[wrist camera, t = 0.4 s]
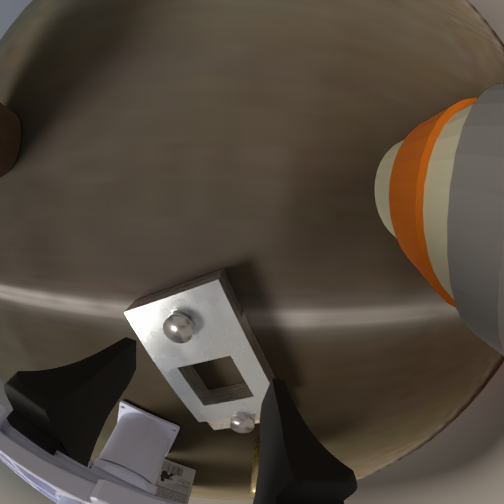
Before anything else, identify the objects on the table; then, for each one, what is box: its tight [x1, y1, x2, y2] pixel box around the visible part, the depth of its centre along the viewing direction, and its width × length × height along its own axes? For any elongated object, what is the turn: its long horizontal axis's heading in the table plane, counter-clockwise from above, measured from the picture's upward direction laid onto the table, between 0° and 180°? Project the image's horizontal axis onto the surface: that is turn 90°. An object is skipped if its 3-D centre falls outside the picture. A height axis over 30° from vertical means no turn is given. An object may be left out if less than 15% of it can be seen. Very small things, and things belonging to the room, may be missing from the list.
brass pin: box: [250, 437, 260, 498], centre depth 24 cm, size 4×4×8 cm
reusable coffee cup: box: [374, 84, 504, 356], centre depth 12 cm, size 13×13×15 cm
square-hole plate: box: [124, 268, 276, 433], centre depth 23 cm, size 17×9×3 cm, turn 22°
